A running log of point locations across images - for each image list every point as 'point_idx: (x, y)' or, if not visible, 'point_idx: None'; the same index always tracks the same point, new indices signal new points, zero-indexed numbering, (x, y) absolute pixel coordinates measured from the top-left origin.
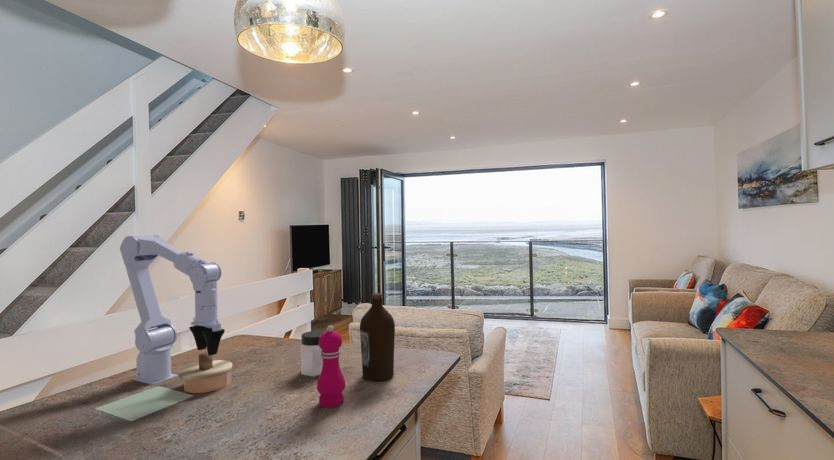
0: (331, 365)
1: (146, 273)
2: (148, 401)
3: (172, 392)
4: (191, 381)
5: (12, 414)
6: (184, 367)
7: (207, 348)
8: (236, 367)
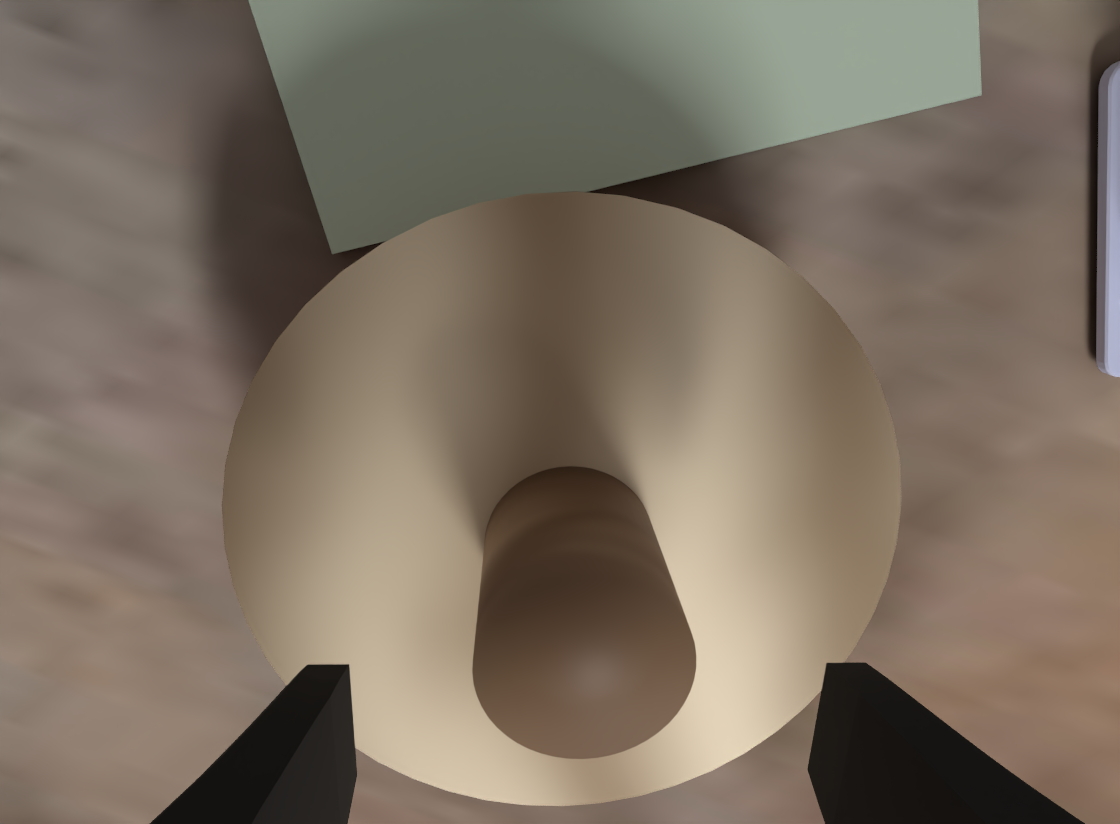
0: None
1: None
2: None
3: (628, 128)
4: None
5: None
6: (856, 372)
7: (255, 750)
8: (814, 809)
